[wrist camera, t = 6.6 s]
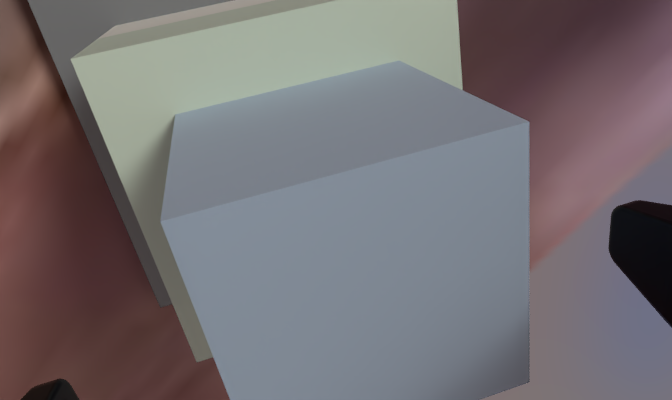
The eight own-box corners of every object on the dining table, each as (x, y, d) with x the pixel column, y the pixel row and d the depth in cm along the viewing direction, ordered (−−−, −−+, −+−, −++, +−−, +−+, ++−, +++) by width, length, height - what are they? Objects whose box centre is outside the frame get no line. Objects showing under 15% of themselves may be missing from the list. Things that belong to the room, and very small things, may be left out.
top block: (399, 60, 11) (529, 121, 7) (420, 246, 14) (529, 382, 9) (175, 114, 11) (160, 221, 6) (238, 301, 13) (260, 476, 8)
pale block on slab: (415, -111, 16) (539, -153, 10) (444, 215, 21) (536, 308, 16) (19, -34, 14) (-102, -34, 8) (161, 298, 20) (146, 437, 14)
